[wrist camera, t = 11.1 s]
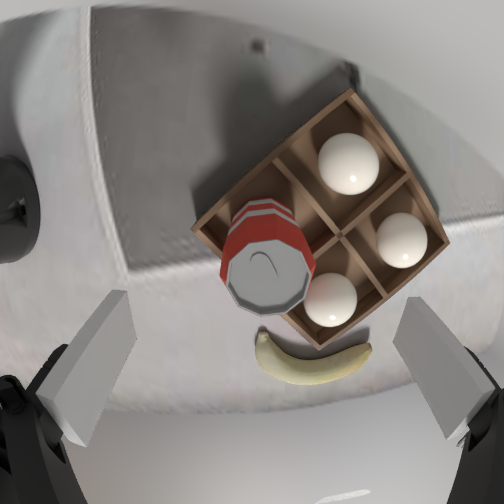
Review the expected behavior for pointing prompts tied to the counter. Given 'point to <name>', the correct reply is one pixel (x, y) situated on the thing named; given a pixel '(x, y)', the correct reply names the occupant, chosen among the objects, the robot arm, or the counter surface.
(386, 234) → the egg
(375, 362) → the counter surface
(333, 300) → the egg
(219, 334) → the counter surface
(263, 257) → the beverage can
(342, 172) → the egg
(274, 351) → the fruit
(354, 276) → the crate
